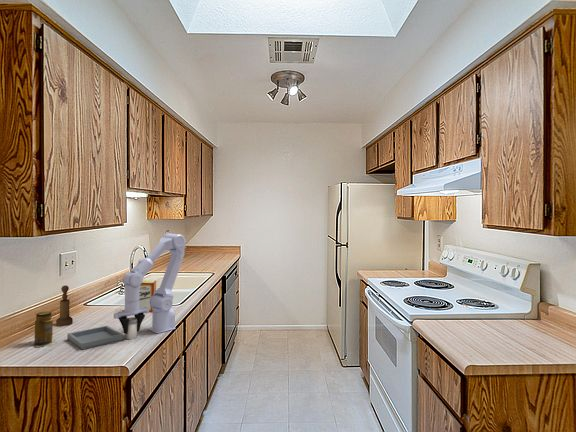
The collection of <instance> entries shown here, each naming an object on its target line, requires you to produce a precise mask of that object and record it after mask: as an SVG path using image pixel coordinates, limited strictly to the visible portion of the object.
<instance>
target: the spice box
mask: <svg viewBox="0 0 576 432" xmlns="http://www.w3.org/2000/svg"><path fill="white" fill-rule="evenodd" d="M156 290H157V280H147V279H143V282H142V284H140V291H139V308H149V313H153V310H152V307H151V306H150V298H151V297H152V296H153V294H154V292H155V291H156Z"/></svg>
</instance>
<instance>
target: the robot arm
mask: <svg viewBox="0 0 576 432" xmlns="http://www.w3.org/2000/svg"><path fill="white" fill-rule="evenodd" d="M186 245H187V241H186V239H185V236H184V235H182V234H181V233H180V234H177V233H170V232H167V233H165V234H163V236H162V237H160V238H159V242H158V243H157V244H156V246H155V247H154V248H153V250H152V251H151V252H150V253H148V256H146V257H143V258H142V259H138V263H137V264H136V265H135V266H134V267H133V268H131V269H130V271H128V272H126V273H125V274H124V276H123V278H122V280H121V281H122V283H123V284H124V310H121V311H119V312H114V313H113V319H115V320H116V319H117V320H119V323H120V324H121V327H122V330H123V335H126V334H128V322H129V319H128V318H129V317H130V316H133V317H136V318H137V333H138V332H140V328H141V325H142V322H143V320H144V319H145V317H146V314H148V313H150V312H149V308H139V291H140V284H142V282H143V280H144V278H145V276H146V275H147V274H148V273H149V272H150V270H151V269H153V267H154V266H153V265H154V264H153V263H154V262H156V260H157V259H158V258H160V256H161V255H163V254H164V252H166V251H169V252H170V255H171V256H170V258H169V261H168V264H167V266H166V269H165V272H164V275H163V277H162V280H161V283H160V285H159V288H156V291H155V292H154V294H153V296H152V297H151V298H150V306H151V307H152V310H153V312H151V313H152V320H151V322H152V324H151V327H148V328H147V329H148V330H149V331H151V332H153V333H154V334H159V333H164V332H169V331H173V330H176V328H177V327H175V326H176V313H175V310H174V309H173V308H172V307H173V305H174V303H173V300H174V297H175V296H174V294H173V292H172V290H173V287H174V285H175V281H176V279H177V276H178V273H179V271H180V269H181V265H182V262H183V260H184V257H185V248H186Z"/></svg>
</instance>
